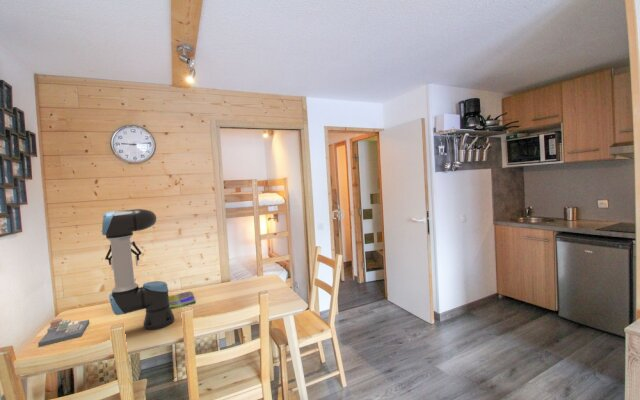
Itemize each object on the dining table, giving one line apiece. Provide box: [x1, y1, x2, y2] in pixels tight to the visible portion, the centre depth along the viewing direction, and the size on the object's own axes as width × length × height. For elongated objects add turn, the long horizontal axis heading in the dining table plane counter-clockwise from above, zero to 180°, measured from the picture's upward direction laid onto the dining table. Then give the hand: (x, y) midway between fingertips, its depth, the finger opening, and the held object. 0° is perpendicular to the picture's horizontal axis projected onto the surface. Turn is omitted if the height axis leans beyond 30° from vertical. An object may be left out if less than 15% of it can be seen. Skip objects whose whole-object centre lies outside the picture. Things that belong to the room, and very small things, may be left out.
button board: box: [37, 319, 90, 348], centre depth 161 cm, size 20×17×4 cm
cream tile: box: [68, 320, 80, 331], centre depth 158 cm, size 4×4×3 cm
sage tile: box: [59, 319, 72, 330], centre depth 161 cm, size 4×4×3 cm
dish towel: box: [168, 290, 197, 310], centre depth 198 cm, size 18×24×3 cm
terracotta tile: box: [49, 317, 63, 328], centre depth 164 cm, size 4×4×3 cm
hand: (125, 267), depth 196 cm, fingers open, 13 cm apart
